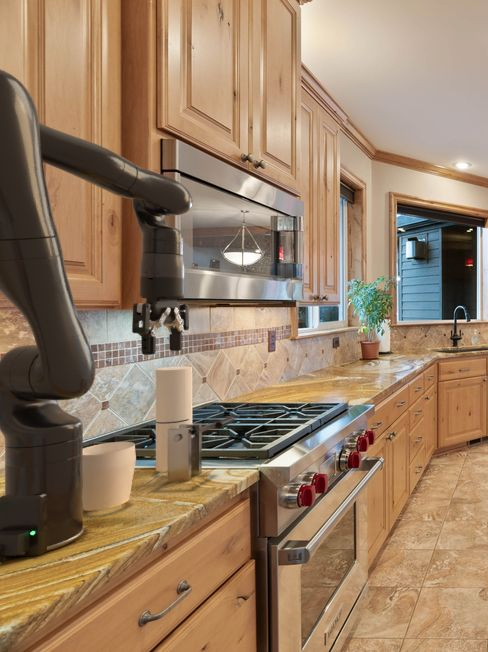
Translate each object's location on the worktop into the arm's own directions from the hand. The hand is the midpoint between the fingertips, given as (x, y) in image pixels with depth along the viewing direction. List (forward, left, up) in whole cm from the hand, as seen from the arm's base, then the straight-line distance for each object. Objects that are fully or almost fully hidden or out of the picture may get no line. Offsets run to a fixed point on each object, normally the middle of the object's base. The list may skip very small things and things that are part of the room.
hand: (162, 352), depth 98 cm
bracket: (+6, -1, -30) cm, 31 cm away
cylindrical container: (+14, +6, -30) cm, 34 cm away
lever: (+6, -5, -19) cm, 21 cm away
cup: (-7, +6, -30) cm, 32 cm away
